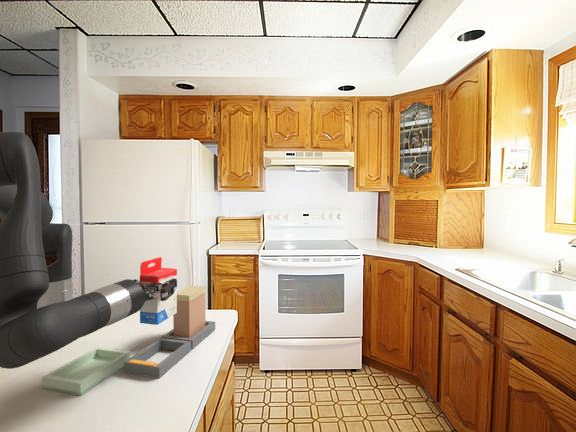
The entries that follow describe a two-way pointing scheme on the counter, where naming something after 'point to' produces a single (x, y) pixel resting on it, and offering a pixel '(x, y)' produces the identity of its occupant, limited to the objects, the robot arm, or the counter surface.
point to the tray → (85, 371)
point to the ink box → (156, 308)
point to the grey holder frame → (167, 342)
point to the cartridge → (189, 311)
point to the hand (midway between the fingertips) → (165, 281)
